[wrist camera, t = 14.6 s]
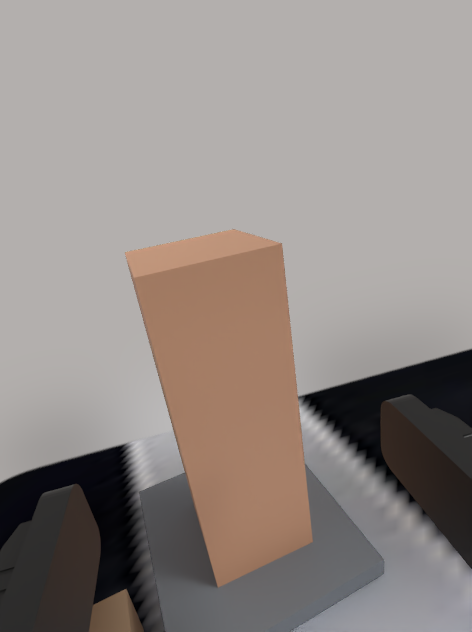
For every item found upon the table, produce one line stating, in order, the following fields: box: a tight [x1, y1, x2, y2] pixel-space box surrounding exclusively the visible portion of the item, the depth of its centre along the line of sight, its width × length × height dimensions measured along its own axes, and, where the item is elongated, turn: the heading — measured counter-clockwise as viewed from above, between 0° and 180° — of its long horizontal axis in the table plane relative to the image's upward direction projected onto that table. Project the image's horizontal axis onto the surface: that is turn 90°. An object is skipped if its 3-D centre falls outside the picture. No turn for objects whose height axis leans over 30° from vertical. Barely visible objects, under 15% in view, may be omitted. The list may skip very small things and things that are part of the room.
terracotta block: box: [125, 229, 313, 587], centre depth 17 cm, size 5×5×15 cm
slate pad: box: [139, 464, 384, 632], centre depth 20 cm, size 10×10×1 cm
